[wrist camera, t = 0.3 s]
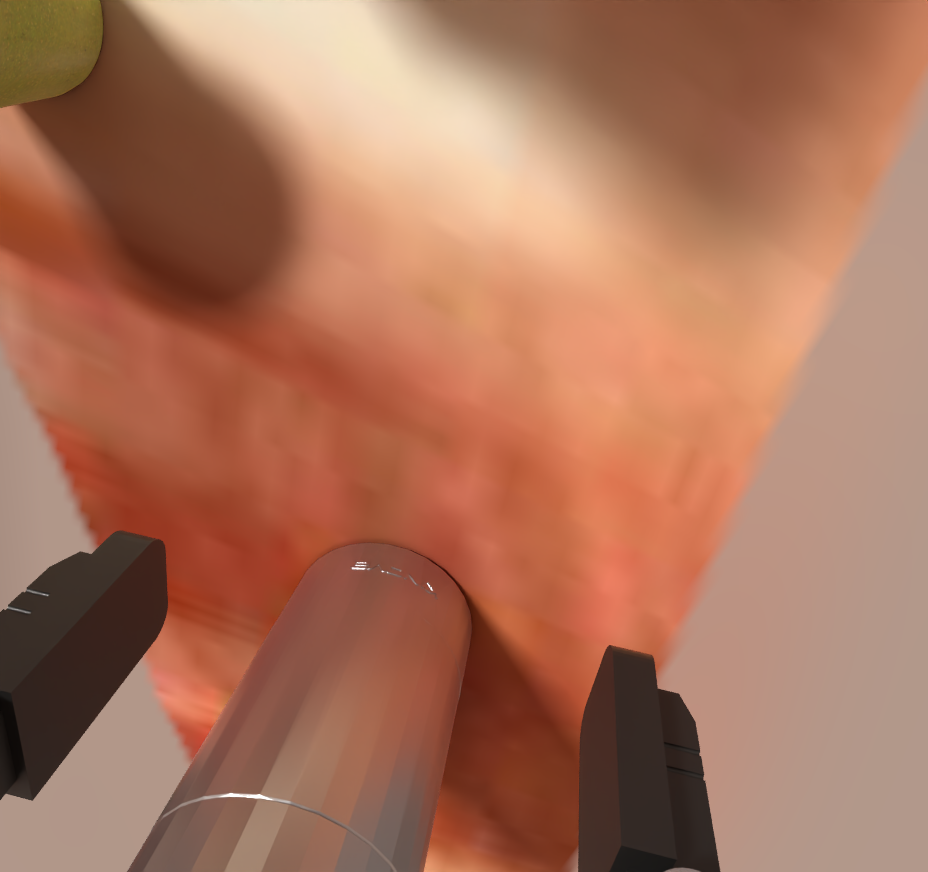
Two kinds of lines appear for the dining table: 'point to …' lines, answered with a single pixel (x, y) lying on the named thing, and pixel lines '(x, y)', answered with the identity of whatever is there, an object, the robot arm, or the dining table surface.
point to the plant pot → (46, 47)
